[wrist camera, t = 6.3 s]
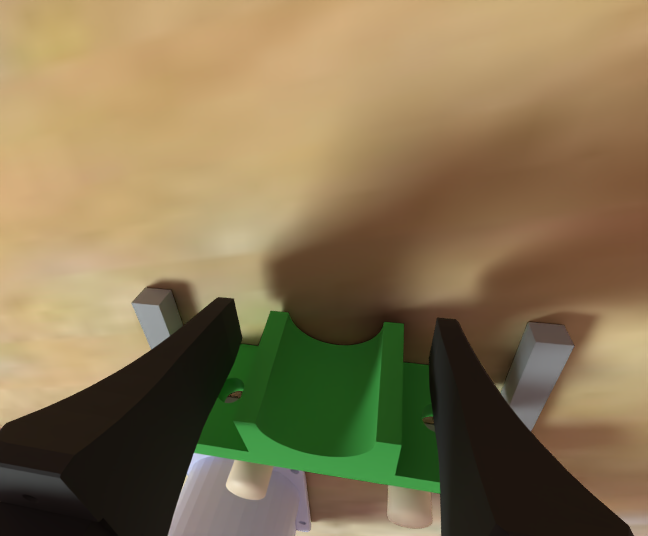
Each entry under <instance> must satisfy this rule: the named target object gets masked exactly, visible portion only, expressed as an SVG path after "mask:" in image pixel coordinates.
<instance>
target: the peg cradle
mask: <svg viewBox="0 0 648 536" xmlns="http://www.w3.org/2000/svg"><path fill="white" fill-rule="evenodd" d="M132 306H133V308H134V310H135V313H136V315H137V317H138V320H139V322H140V324H141V327H142V329H143V331H144V334H145V336H146V338H147V341H148V343H149V345H150V348H151V350H152V349H153V348H154V347H156V346H157V345H158V344H160V343H161V342H162V341H164V340H165V339H167V338H168V337H169V336H171V335H172V334H173V333H175V332H176V331H177V330H178V329H180V328H181V327H182V326H183V324H182V321H181V318H180V315H179V312H178V309H177V306H176V303H175V300H174V297H173V294H172V291H171V290H165V289H154V288H144V290H143V291H142V292H141V293H140V294H139V295H138V296H137V297H136V298H135V299H134V301H133V302H132ZM573 348H574V344H573V342H572V340H571V338H570V336H569V334H568V332H567V330H566V328H565V326H564V325H558V324H546V323H535V322H528V323H527V326H526V329H525V331H524V334H523V336H522V339H521V342H520V344H519V347H518V349H517V352H516V355H515V357H514V360H513V362H512V365H511V368H510V370H509V373H508V375H507V378H506V381H505V383H504V386H503V388H502V391H501V395H502V396H503V397H504V399H505V400H506V402H507V403H508V404H509V406H510V407H511V408H512V409H513V411H514V412H515V413H516V414H517V416H518V417H519V418H520V419H521V421H522V422H523V423H524V424H525V425H526V427H527V428H528V429H529V430H530V431H532V429H533V427H534V425H535V423H536V421H537V419H538V417H539V415H540V413H541V411H542V409H543V407H544V405H545V403H546V401H547V399H548V397H549V395H550V393H551V391H552V389H553V387H554V385H555V383H556V381H557V379H558V377H559V375H560V373H561V371H562V369H563V367H564V366H565V364H566V362H567V360H568V358H569V356H570V354H571V352H572V350H573ZM238 399H239V398H232V397H227V398H226V400H225V403H232V402H235V401H237V400H238ZM424 424H425V423H424ZM425 425H426V426H427V428H429V429H430V430H432V431H434V432H435V426H434V425H433V424H425ZM273 467H274V466H269V465H263V464H257V463H251V462H245V461H239V460H234V463H233V466H232V469H231V471H230V474H229V477H228V479H227V482H226V487H227V489H228V490H229V491H230V492H232V493H233V494H235V495H237V496H239V497H241V498H245V499H249V500H260V499H263V498H264V497H265V496H266V492H267V488H268V485H269V481H270V478H271V474H272V470H273ZM387 517H388V519H389V520H390V521H391V522H393V523H394V524H396V525H399V526H402V527H406V528H414V529H419V528H425V527H428V526H430V525H431V524H432V504H431V492H427V491H421V490H415V489H409V488H403V487H397V486H391V485H388V502H387Z"/></svg>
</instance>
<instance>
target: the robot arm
mask: <svg viewBox="0 0 648 536" xmlns="http://www.w3.org/2000/svg"><path fill="white" fill-rule="evenodd" d="M241 341H242V334H241V330H240V325H239V320H238V316H237V311H236V307H235V302H234V299H232V298H222V297H218V298H216V299H215V300H214V301H213V302H211V303H210V304H209V305H208V306H206V307H205V308H204V309H203V310H202V311H200V312H199V313H198V314H197V315H196V316H194V317H193V318H192V319H191V320H190V321H188V322H187V323H186V324H185V325H183V326H182V327H181V328H180V329H178V330H177V331H176V332H175V333H173V334H172V335H171V336H169V337H168V338H167V339H165V340H164V341H162V342H161V343H160V344H158V345H157V346H156V347H154V348H153V349H152V350H150V351H149V352H147V353H146V354H144V355H143V356H141V357H140V358H138V359H137V360H135V361H134V362H132V363H131V364H129V365H127V366H126V367H124V368H122V369H121V370H119V371H117V372H116V373H114V374H112V375H110V376H108V377H107V378H105V379H103V380H101V381H99V382H97V383H96V384H94V385H92V386H90V387H88V388H86V389H84V390H82V391H80V392H78V393H76V394H74V395H72V396H70V397H68V398H66V399H63V400H61V401H59V402H57V403H55V404H52V405H50V406H48V407H45V408H43V409H41V410H38V411H36V412H33V413H31V414H28V415H26V416H23V417H21V418H18V419H16V420H13V421H10V422H8V423H6V424H5V425H4V426H3V427H2V428H1V429H0V536H295V533H296V530H298V531H303V532H309V531H310V530H311V517H310V509H309V501H308V492H307V484H306V476H305V471H300V470H294V469H288V468H282V467H276V466H274V467H273V470H272V474H271V478H270V481H269V485H268V488H267V492H266V496H265V497H264V498H263V499H260V500H249V499H245V498H241V497H239V496H237V495H235V494H233V493H232V492H230V491H229V490H228V489H227V487H226V482H227V479H228V477H229V474H230V471H231V469H232V466H233V463H234V460H233V459H227V458H221V457H215V456H209V455H203V454H197V453H194V451H195V449H196V446H197V443H198V441H199V438H200V435H201V433H202V430H203V427H204V425H205V423H206V421H207V418H208V416H209V414H210V412H211V410H212V408H213V406H214V404H215V402H216V400H217V398H218V396H219V394H220V392H221V390H222V388H223V386H224V384H225V382H226V379H227V377H228V375H229V373H230V371H231V369H232V367H233V365H234V362H235V360H236V357H237V354H238V351H239V348H240V345H241ZM429 389H430V396H431V404H432V412H433V419H434V426H435V434H436V441H437V449H438V459H439V475H440V503H441V536H634V535H633V533H632V531H631V529H630V527H629V526H628V525H627V524H626V523H625V522H624V521H623V520H622V519H620V518H619V517H618V516H617V515H616V514H615V513H613V512H612V511H611V510H610V509H609V508H608V507H607V506H605V505H604V504H603V503H602V502H601V501H600V500H598V499H597V498H596V497H595V496H594V495H593V494H592V493H590V492H589V491H588V490H587V489H586V488H585V487H584V486H583V485H582V484H581V483H580V482H579V481H578V480H577V479H575V478H574V477H573V476H572V475H571V474H570V473H569V472H568V471H567V470H566V469H565V468H564V467H563V466H562V465H561V464H560V463H559V461H558V460H557V459H556V458H555V457H554V456H553V455H552V454H551V453H550V452H549V451H548V450H547V449H546V448H545V447H544V446H543V445H542V444H541V443H540V442H539V440H538V439H537V438H536V437H535V436H534V435H533V434H532V432H531V431H530V430H529V429H528V428H527V427H526V425H525V424H524V423H523V422H522V421H521V419H520V418H519V417H518V416H517V414H516V413H515V412H514V411H513V409H512V408H511V407H510V406H509V404H508V403H507V402H506V400H505V399H504V397H503V396H502V395H501V393H500V392H499V390H498V389H497V388H496V386H495V385H494V383H493V382H492V380H491V379H490V377H489V376H488V374H487V373H486V371H485V369H484V368H483V366H482V365H481V363H480V361H479V360H478V358H477V356H476V355H475V353H474V351H473V349H472V348H471V346H470V344H469V342H468V340H467V338H466V337H465V335H464V333H463V331H462V329H461V326H460V324H459V322H458V321H457V320H456V319H445V318H437V320H436V325H435V330H434V336H433V341H432V346H431V351H430V356H429ZM186 474H187V475H188V477H187V479H186V482H185V484H184V486H183V483H184V480H185V477H186ZM182 487H183V488H182Z"/></svg>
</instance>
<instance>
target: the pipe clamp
mask: <svg viewBox="0 0 648 536" xmlns="http://www.w3.org/2000/svg"><path fill="white" fill-rule="evenodd" d="M403 347H404V324H402V323H391V322H384V324H383V327H382V329H381V331H380V332H379V334H378V335H377V336H375V337H374V338H373V339H371V340H369V341H367V342H364V343H360V344H355V345H334V344H329V343H325V342H321V341H318V340H316V339H314V338H312V337H310V336H308V335H306V334H305V333H303V332H302V331H301V330H300V329H298V328H297V327H296V325H295V324H294V323H293V321H292V320H291V318H290V315H289V313H288V312H278V311H270V314H269V317H268V320H267V323H266V326H265V329H264V332H263V334H262V337H261V340H260V343H259V346H255V345H246V344H241V345H240V348H239V351H238V354H237V357H236V360H235V362H234V365H233V367H232V369H231V371H230V373H229V375H228V377H227V379H226V382H225V384H224V386H223V388H222V390H221V392H220V394H219V396H218V398H217V400H216V402H215V404H214V406H213V408H212V410H211V412H210V414H209V416H208V418H207V421H206V423H205V425H204V427H203V430H202V433H201V435H200V438H199V441H198V443H197V446H196V449H195V451H194V453H197V454H203V455H209V456H215V457H221V458H227V459H233V460H239V461H245V462H251V463H257V464H263V465H269V466H276V467H282V468H288V469H294V470H300V471H306V472H312V473H318V474H324V475H330V476H336V477H342V478H348V479H354V480H360V481H366V482H372V483H378V484H385V485H391V486H397V487H403V488H409V489H415V490H421V491H427V492H433V493H439V494H440V475H439V459H438V449H437V441H436V434H435V432H434V431H432V430H430V429H429V428H427V426H426V425H425V424H424V422H423V420H422V419H423V418H425V417H428V416H432V417H433V412H432V404H431V396H430V389H429V365H424V364H415V363H406V362H403ZM235 391H243V392H242V395H241V398H239V399H238V400H237V401H235V402H232V403H225V400H226V398H227V397H228V396H229V395H230V394H231V393H233V392H235Z"/></svg>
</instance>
